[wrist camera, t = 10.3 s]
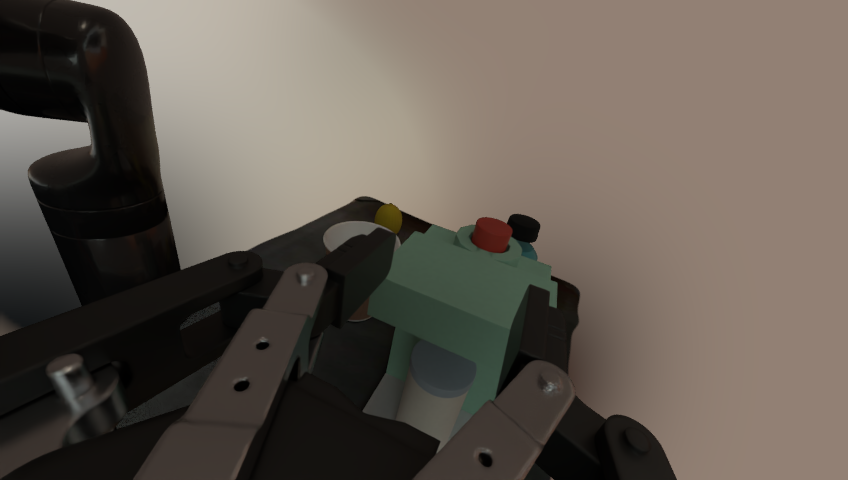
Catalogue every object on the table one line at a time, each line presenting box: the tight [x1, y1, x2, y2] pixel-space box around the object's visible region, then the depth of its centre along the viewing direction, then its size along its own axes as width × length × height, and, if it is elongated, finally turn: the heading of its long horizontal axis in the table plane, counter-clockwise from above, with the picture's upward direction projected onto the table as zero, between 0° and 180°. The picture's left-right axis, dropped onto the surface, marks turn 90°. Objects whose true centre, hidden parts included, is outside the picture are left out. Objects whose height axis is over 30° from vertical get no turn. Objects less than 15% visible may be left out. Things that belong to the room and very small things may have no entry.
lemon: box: [375, 203, 402, 234], centre depth 68 cm, size 6×6×8 cm
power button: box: [471, 217, 512, 253], centre depth 31 cm, size 3×3×2 cm
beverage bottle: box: [507, 214, 540, 261], centre depth 45 cm, size 6×7×20 cm
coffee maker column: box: [386, 224, 551, 415], centre depth 37 cm, size 6×13×21 cm, turn 69°
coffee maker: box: [363, 231, 557, 442], centre depth 30 cm, size 9×13×21 cm
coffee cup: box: [323, 221, 401, 322], centre depth 47 cm, size 10×10×12 cm
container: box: [396, 339, 477, 453], centre depth 32 cm, size 6×6×11 cm
